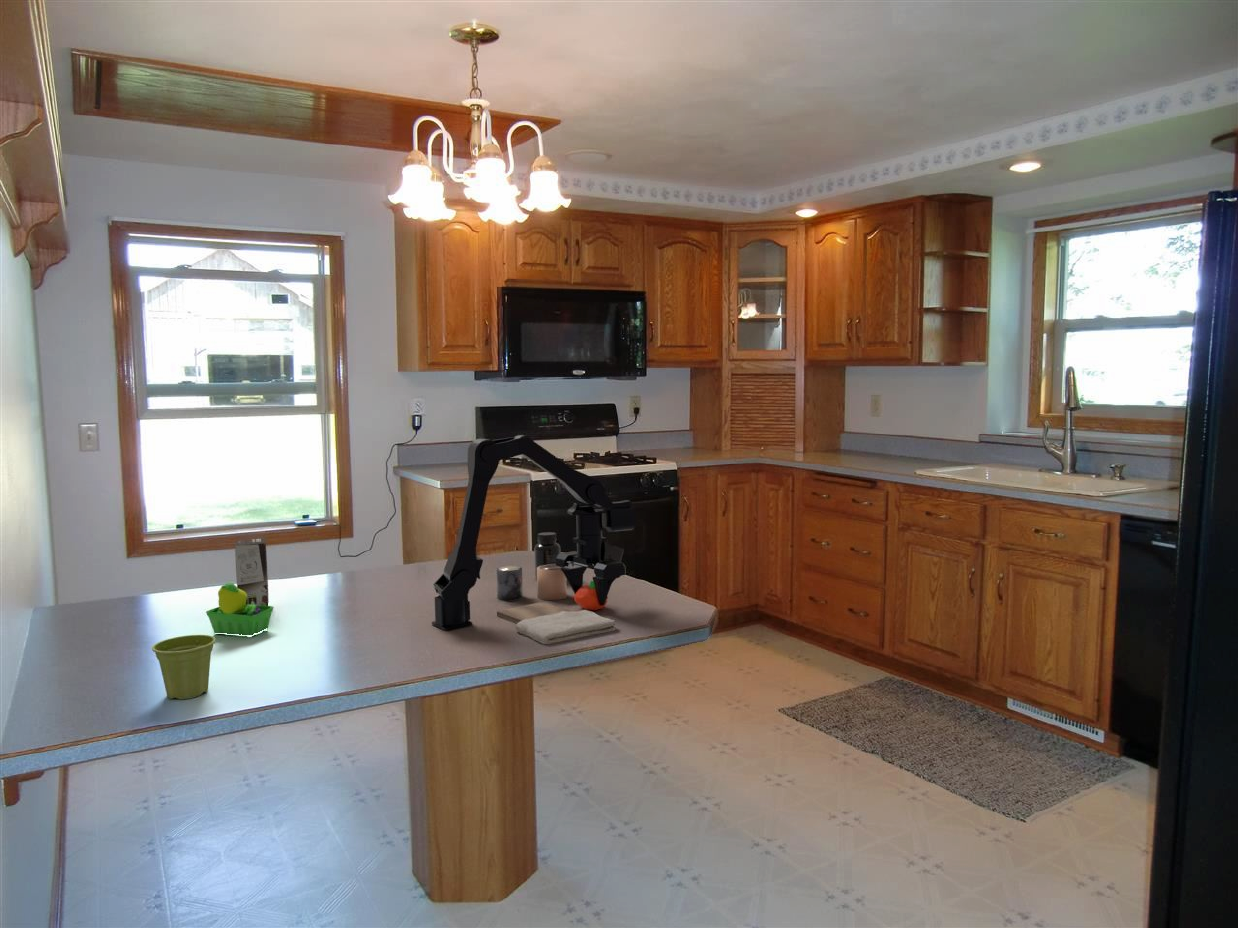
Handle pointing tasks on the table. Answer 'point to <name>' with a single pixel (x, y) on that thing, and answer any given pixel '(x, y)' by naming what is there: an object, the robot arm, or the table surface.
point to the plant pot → (185, 664)
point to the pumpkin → (588, 597)
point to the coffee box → (252, 570)
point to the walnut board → (529, 612)
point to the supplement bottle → (546, 550)
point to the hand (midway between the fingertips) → (590, 601)
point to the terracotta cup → (551, 583)
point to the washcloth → (564, 626)
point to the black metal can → (509, 583)
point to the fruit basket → (238, 613)
